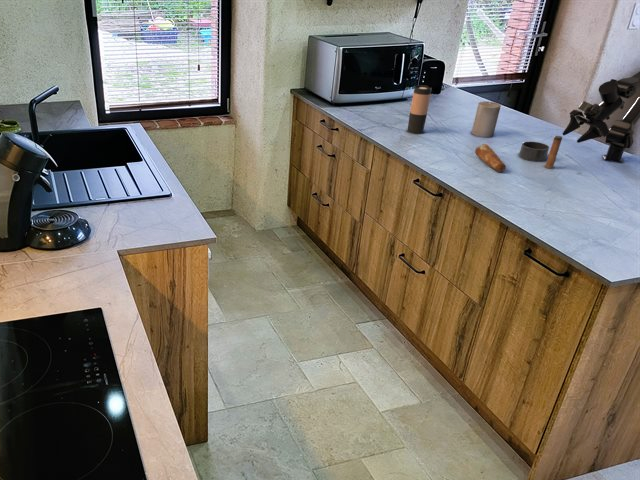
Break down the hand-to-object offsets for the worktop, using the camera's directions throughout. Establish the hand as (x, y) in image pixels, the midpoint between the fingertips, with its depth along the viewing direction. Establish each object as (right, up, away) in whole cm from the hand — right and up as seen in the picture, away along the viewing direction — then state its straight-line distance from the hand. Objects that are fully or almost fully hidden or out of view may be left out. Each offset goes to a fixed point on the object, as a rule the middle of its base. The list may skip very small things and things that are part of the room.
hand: (570, 138), depth 232 cm
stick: (-5, -10, +6) cm, 13 cm away
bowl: (-7, -4, +16) cm, 18 cm away
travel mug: (-48, +15, +43) cm, 66 cm away
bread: (-28, -9, +7) cm, 30 cm away
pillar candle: (-18, +13, +41) cm, 47 cm away
